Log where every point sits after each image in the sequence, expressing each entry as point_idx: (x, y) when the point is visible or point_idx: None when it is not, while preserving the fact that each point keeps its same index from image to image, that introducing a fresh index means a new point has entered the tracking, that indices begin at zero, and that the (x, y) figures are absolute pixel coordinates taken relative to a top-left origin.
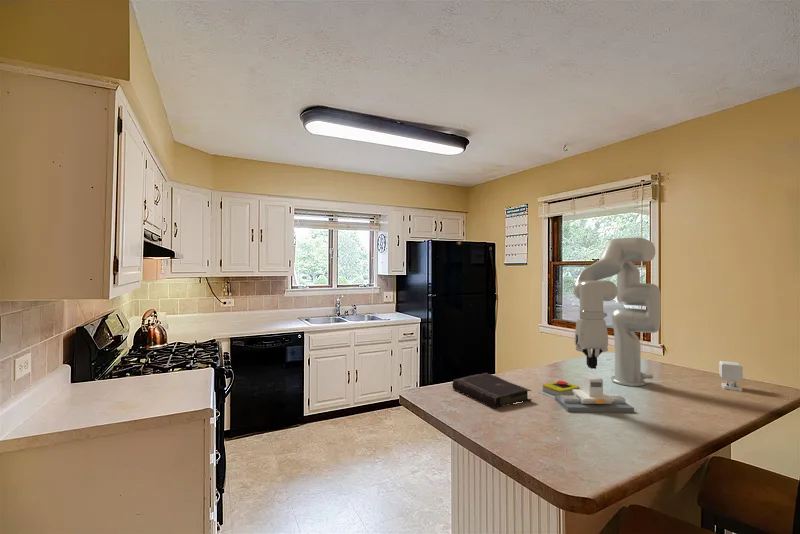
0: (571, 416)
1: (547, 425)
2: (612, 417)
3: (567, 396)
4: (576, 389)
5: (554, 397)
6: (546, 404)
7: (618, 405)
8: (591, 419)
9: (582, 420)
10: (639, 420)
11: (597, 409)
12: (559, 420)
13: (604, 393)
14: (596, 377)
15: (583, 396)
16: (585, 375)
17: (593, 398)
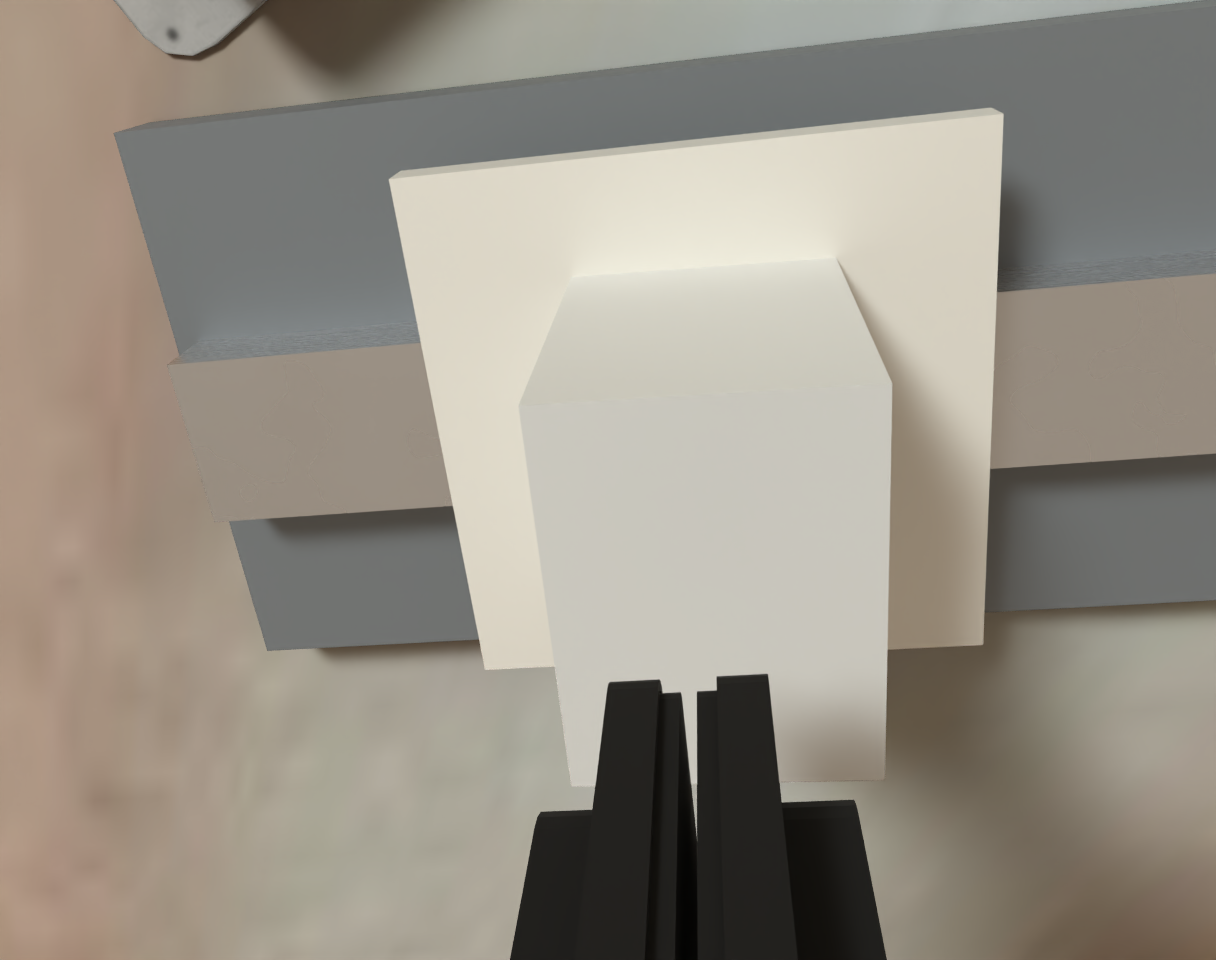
0: (311, 744)
1: (47, 952)
2: None
3: (279, 412)
4: (477, 169)
5: (144, 5)
6: (19, 370)
7: (1054, 520)
8: (521, 805)
9: (412, 834)
10: (1089, 797)
11: None
12: (167, 847)
13: (964, 375)
14: (806, 637)
15: (500, 578)
16: (581, 484)
17: None
